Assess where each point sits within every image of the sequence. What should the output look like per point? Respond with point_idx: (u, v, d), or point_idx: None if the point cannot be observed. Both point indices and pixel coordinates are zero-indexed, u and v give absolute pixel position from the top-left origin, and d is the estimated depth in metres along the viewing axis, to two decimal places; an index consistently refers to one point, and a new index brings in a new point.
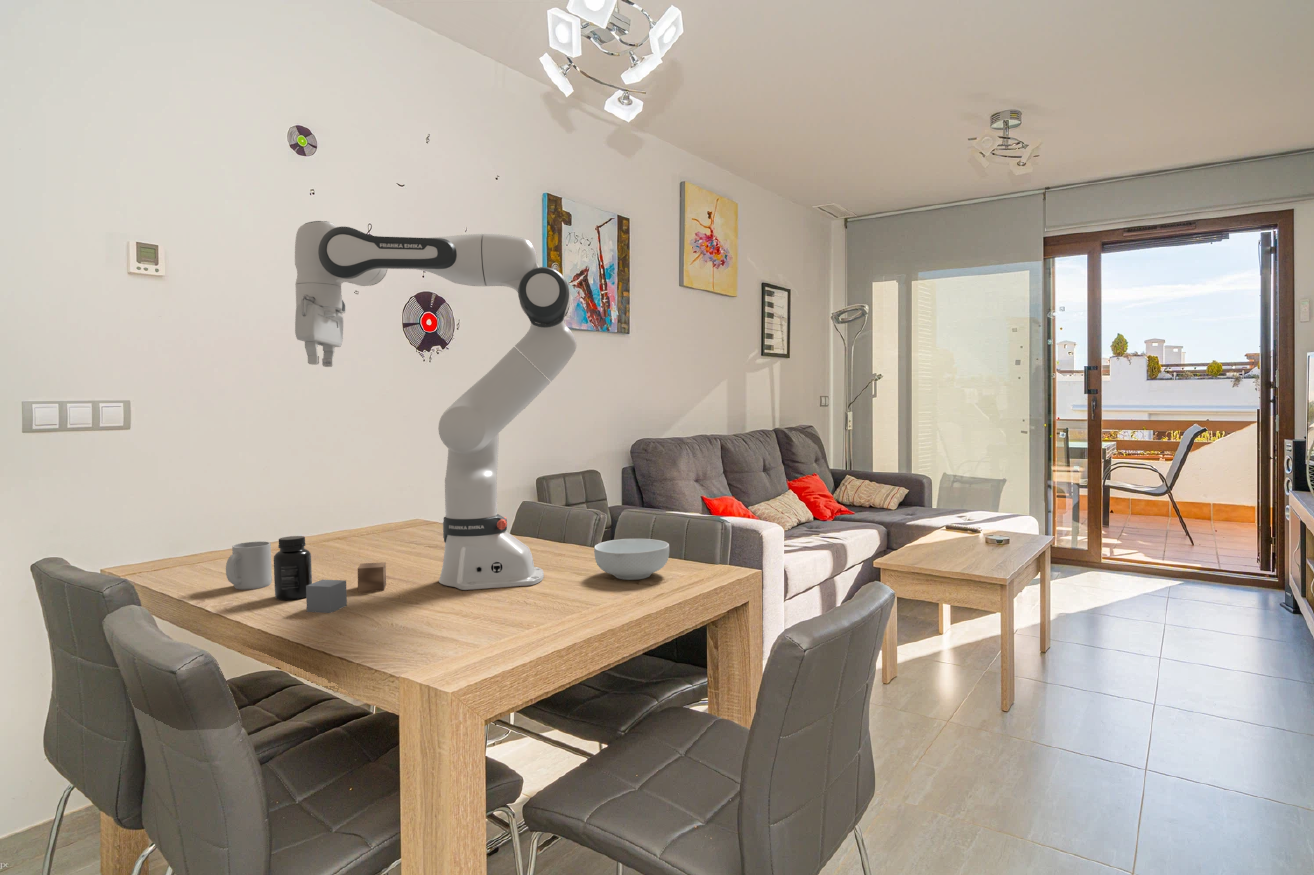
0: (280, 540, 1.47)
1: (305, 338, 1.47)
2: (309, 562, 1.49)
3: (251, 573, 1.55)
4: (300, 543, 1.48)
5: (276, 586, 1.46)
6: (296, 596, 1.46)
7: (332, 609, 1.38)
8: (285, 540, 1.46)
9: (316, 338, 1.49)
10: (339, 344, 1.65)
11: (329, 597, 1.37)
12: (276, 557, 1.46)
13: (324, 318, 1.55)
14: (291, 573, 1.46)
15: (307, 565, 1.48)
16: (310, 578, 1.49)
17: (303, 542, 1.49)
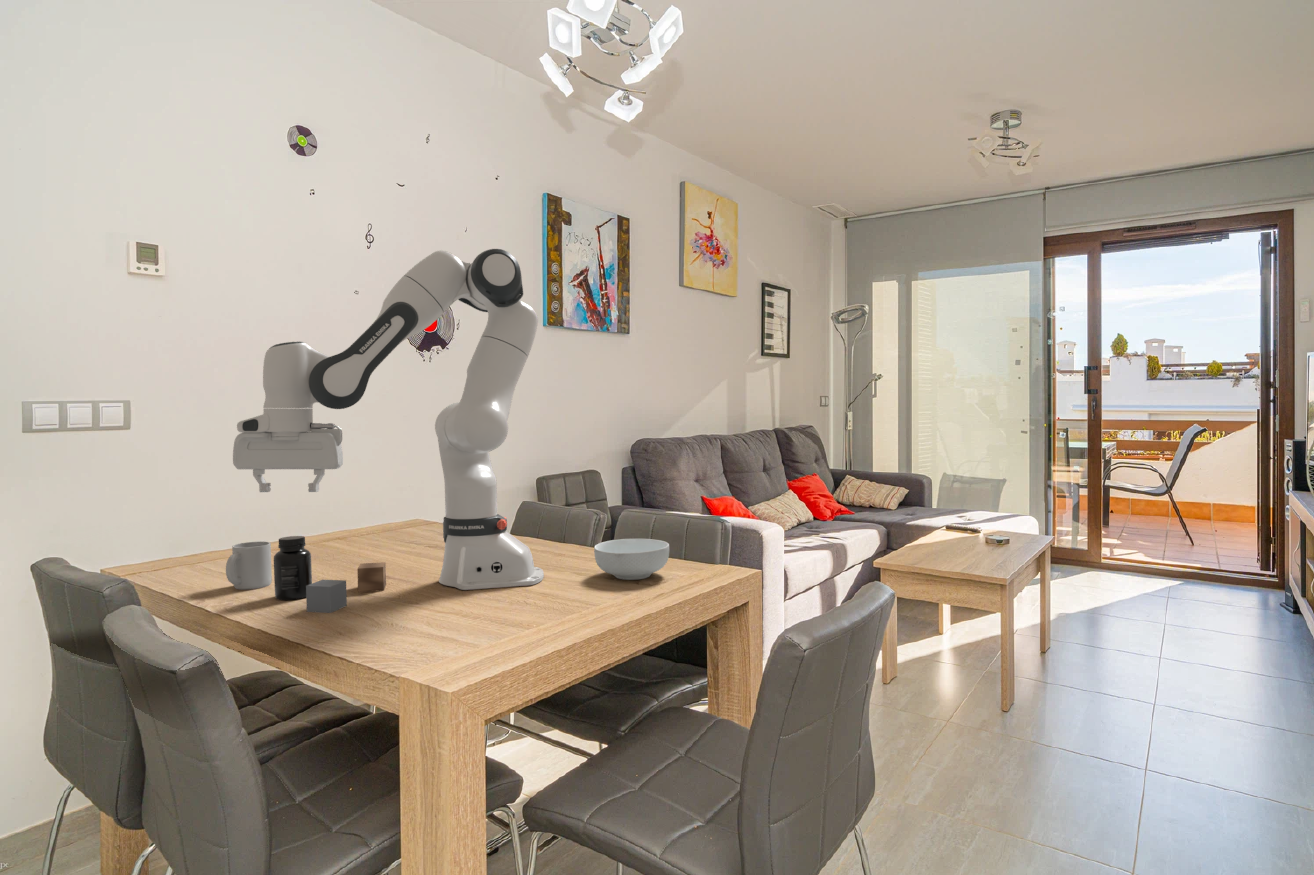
0: (280, 540, 1.47)
1: (338, 467, 1.49)
2: (309, 562, 1.49)
3: (251, 573, 1.55)
4: (300, 543, 1.48)
5: (276, 586, 1.46)
6: (296, 596, 1.46)
7: (332, 609, 1.38)
8: (285, 540, 1.46)
9: None
10: None
11: (329, 597, 1.37)
12: (276, 557, 1.46)
13: None
14: (291, 573, 1.46)
15: (307, 565, 1.48)
16: (310, 578, 1.49)
17: (303, 542, 1.49)
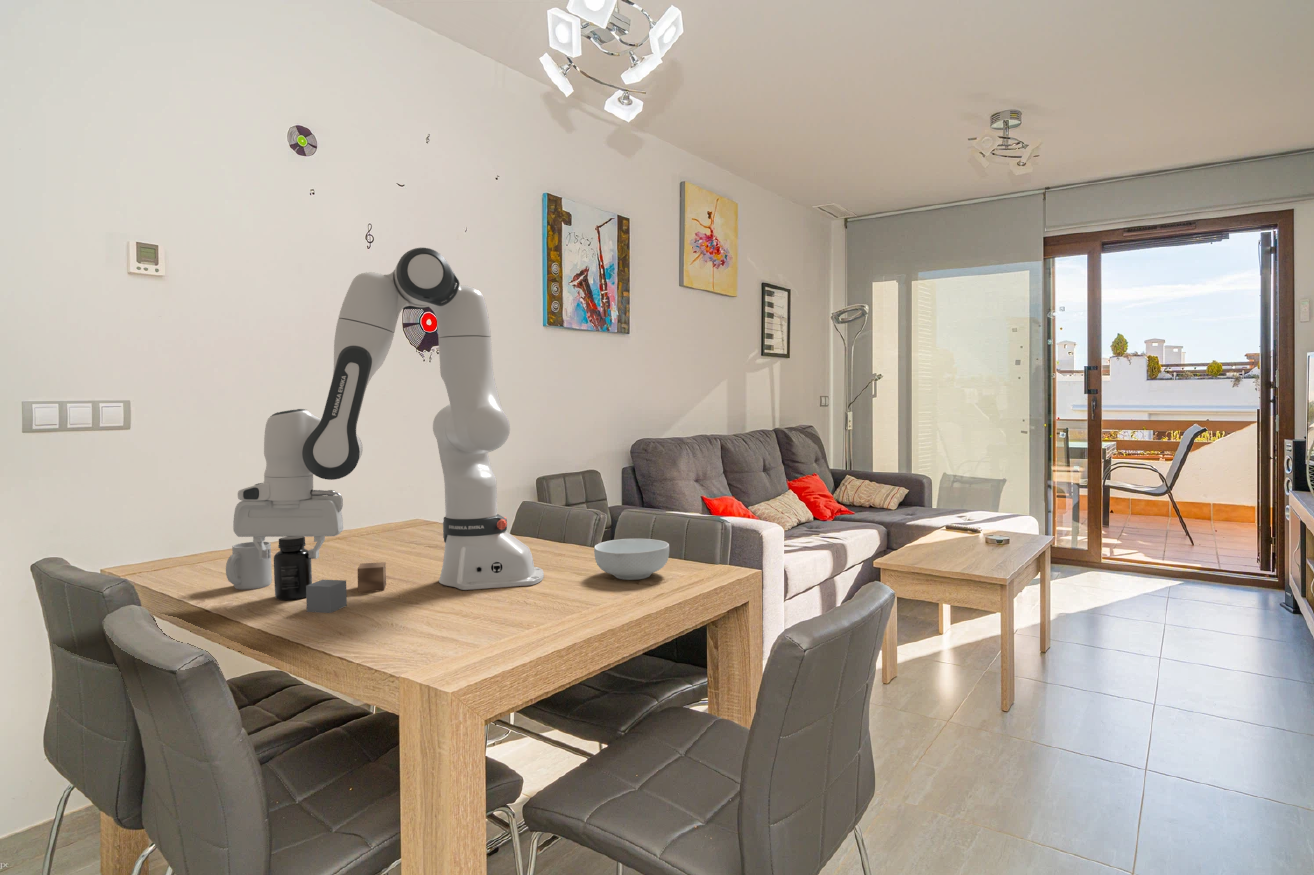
0: (280, 540, 1.47)
1: (338, 533, 1.49)
2: (309, 562, 1.49)
3: (251, 573, 1.55)
4: (300, 543, 1.48)
5: (276, 586, 1.46)
6: (296, 596, 1.46)
7: (332, 609, 1.38)
8: (285, 540, 1.46)
9: None
10: None
11: (329, 597, 1.37)
12: (276, 557, 1.46)
13: None
14: (291, 573, 1.46)
15: (307, 565, 1.48)
16: (310, 578, 1.49)
17: (303, 542, 1.49)
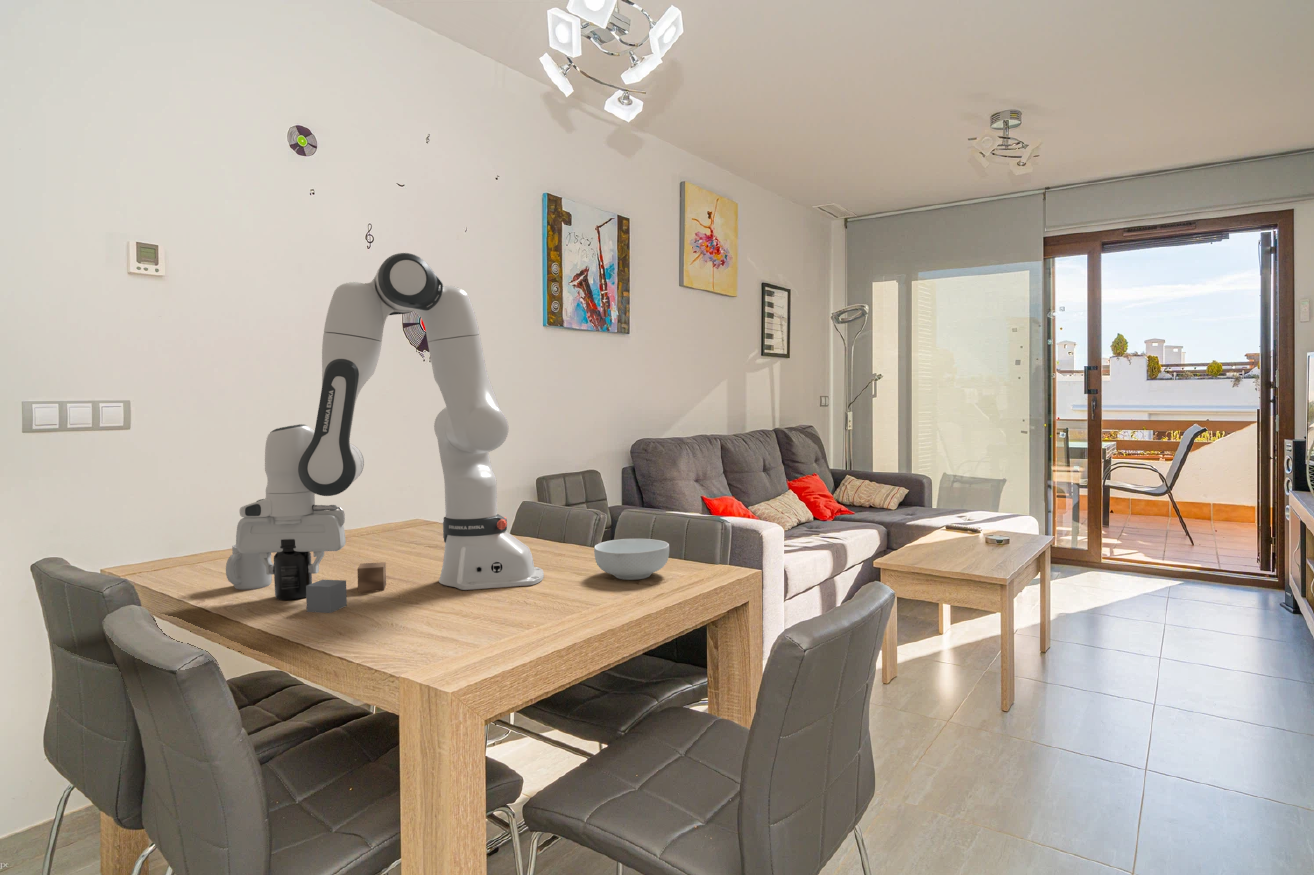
0: None
1: (341, 548, 1.50)
2: (309, 562, 1.49)
3: (251, 573, 1.55)
4: None
5: (276, 586, 1.46)
6: (296, 596, 1.46)
7: (332, 609, 1.38)
8: (285, 540, 1.46)
9: None
10: None
11: (329, 597, 1.37)
12: (276, 557, 1.46)
13: None
14: (291, 573, 1.46)
15: (307, 565, 1.48)
16: (310, 578, 1.49)
17: None
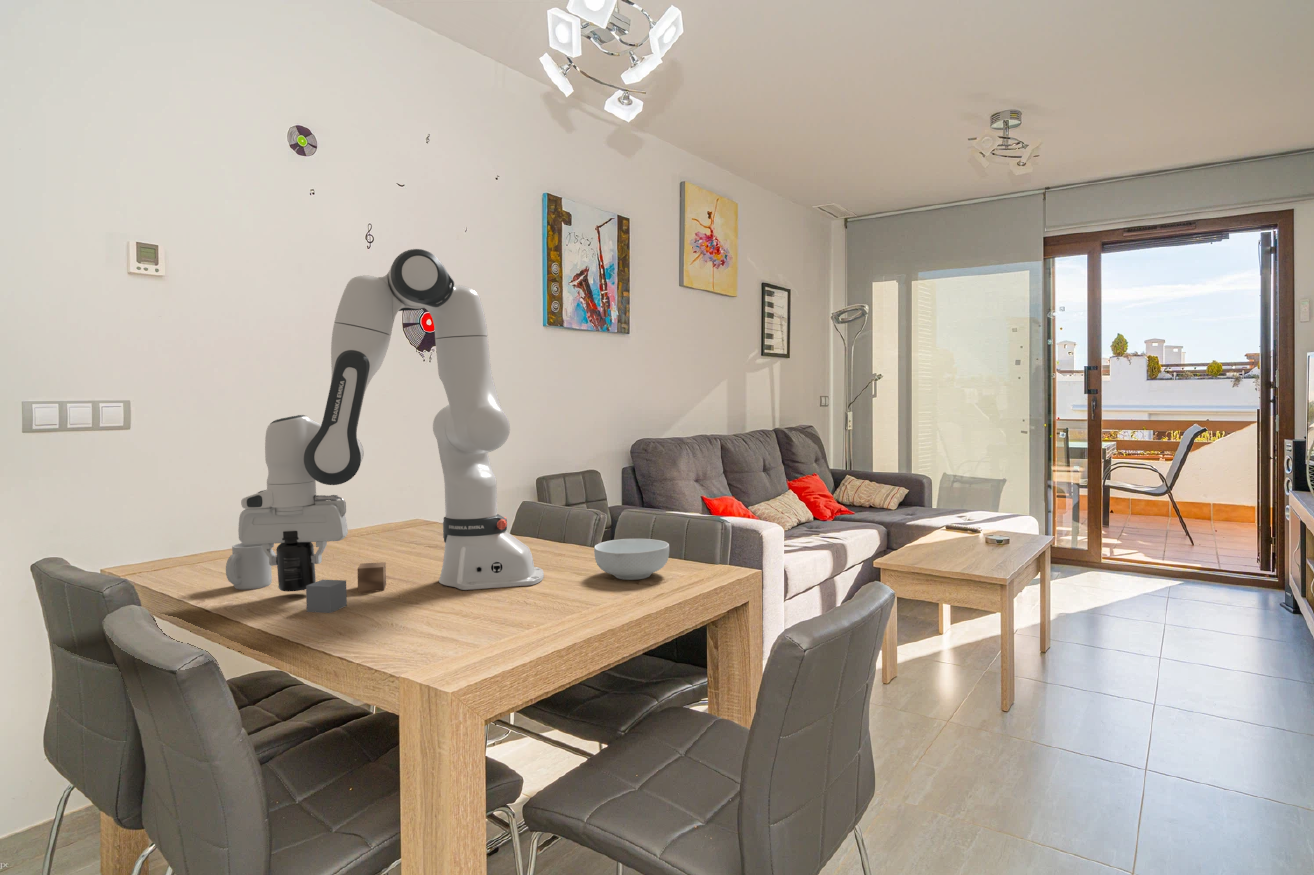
0: None
1: (343, 538, 1.50)
2: (312, 553, 1.49)
3: (251, 573, 1.55)
4: None
5: (279, 578, 1.47)
6: (300, 587, 1.47)
7: (332, 609, 1.38)
8: (287, 532, 1.47)
9: None
10: None
11: (329, 597, 1.37)
12: (278, 549, 1.46)
13: None
14: (294, 565, 1.46)
15: (310, 556, 1.48)
16: (313, 569, 1.50)
17: None
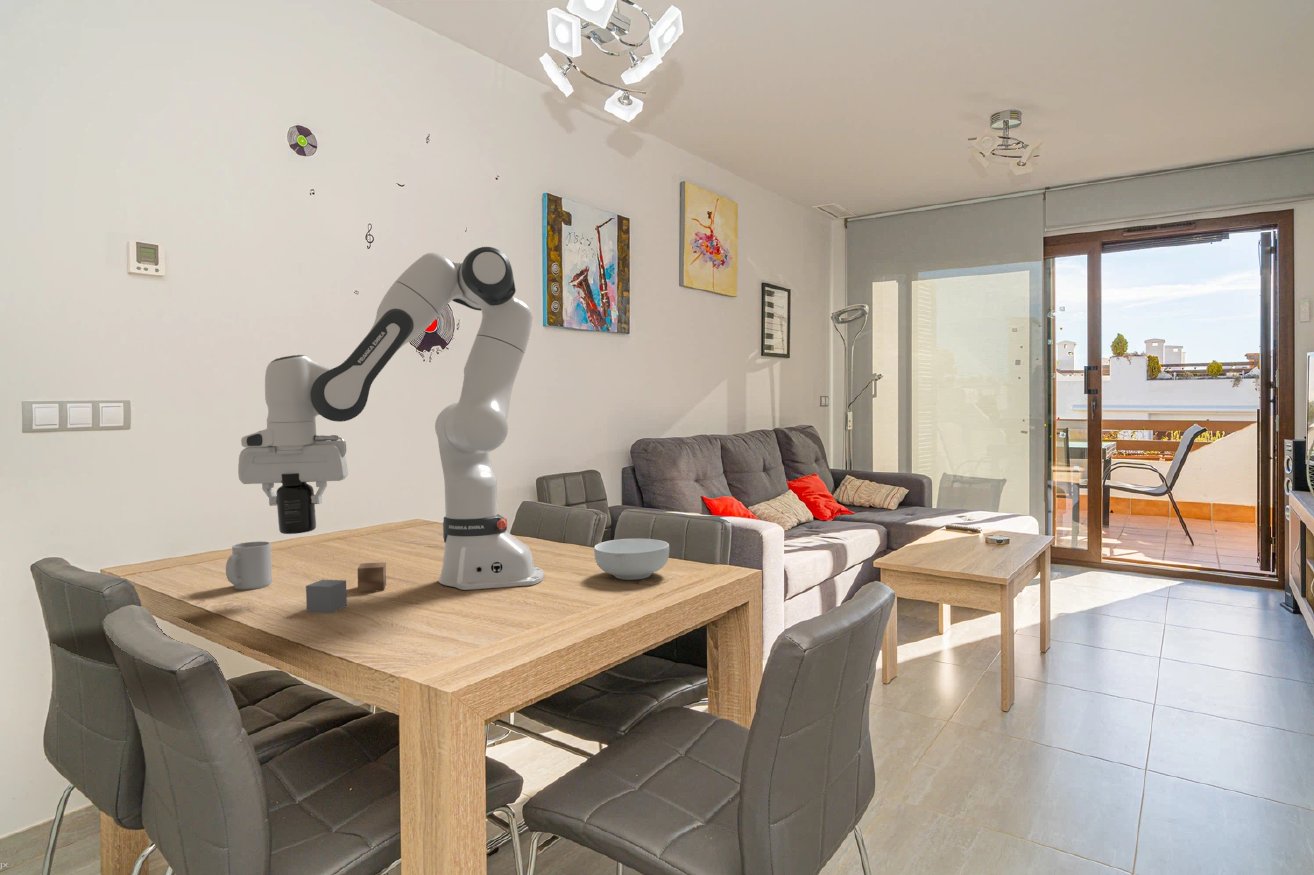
0: (282, 475, 1.47)
1: (343, 478, 1.50)
2: None
3: (251, 573, 1.55)
4: None
5: (280, 520, 1.47)
6: (300, 530, 1.47)
7: (332, 609, 1.38)
8: (287, 474, 1.46)
9: None
10: None
11: (329, 597, 1.37)
12: (278, 491, 1.46)
13: None
14: (295, 507, 1.46)
15: (310, 500, 1.48)
16: (313, 512, 1.50)
17: None
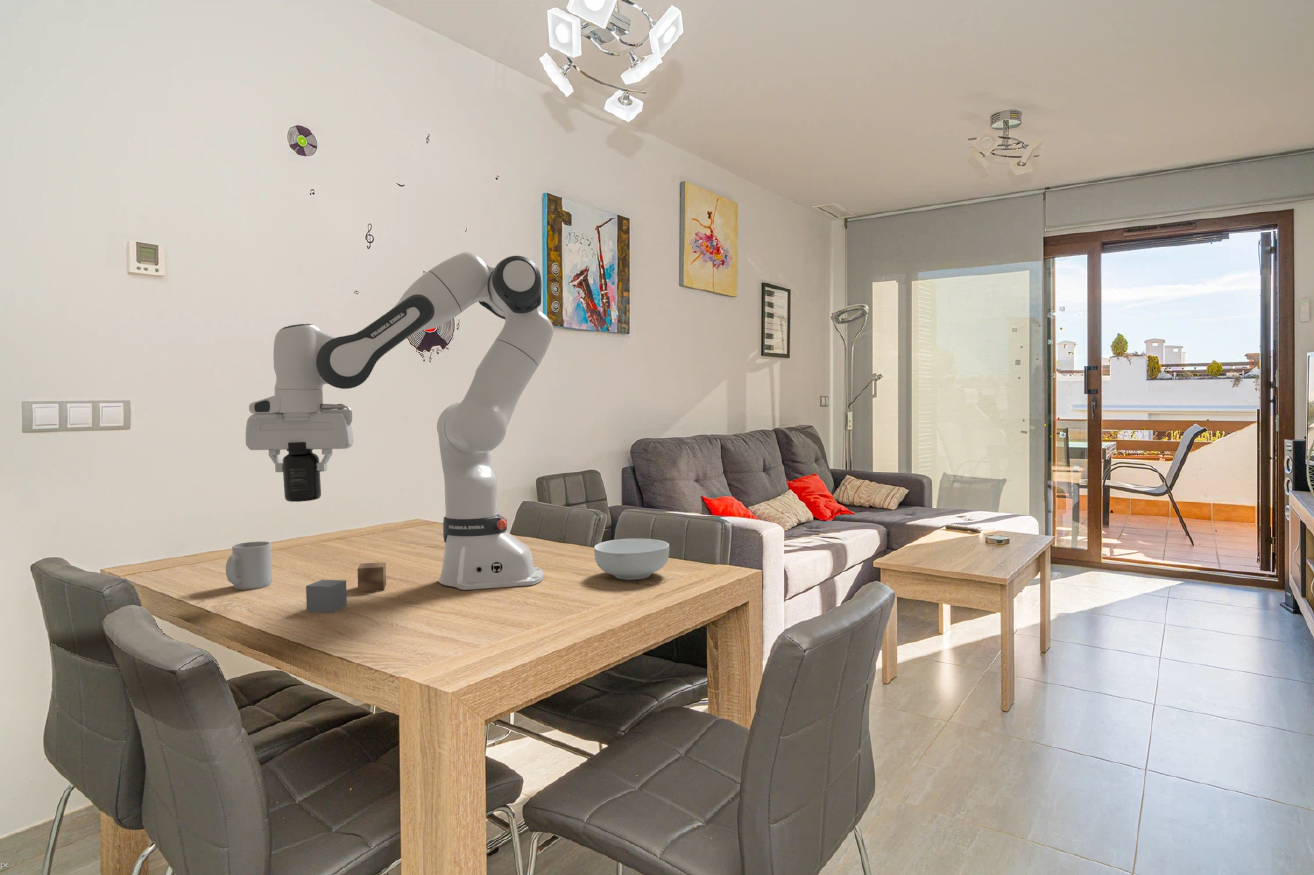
0: (288, 443, 1.49)
1: (349, 446, 1.52)
2: None
3: (251, 573, 1.55)
4: None
5: (286, 488, 1.49)
6: (306, 498, 1.49)
7: (332, 609, 1.38)
8: (293, 443, 1.48)
9: None
10: None
11: (329, 597, 1.37)
12: (284, 459, 1.48)
13: None
14: (300, 475, 1.48)
15: (315, 468, 1.50)
16: (319, 481, 1.52)
17: None
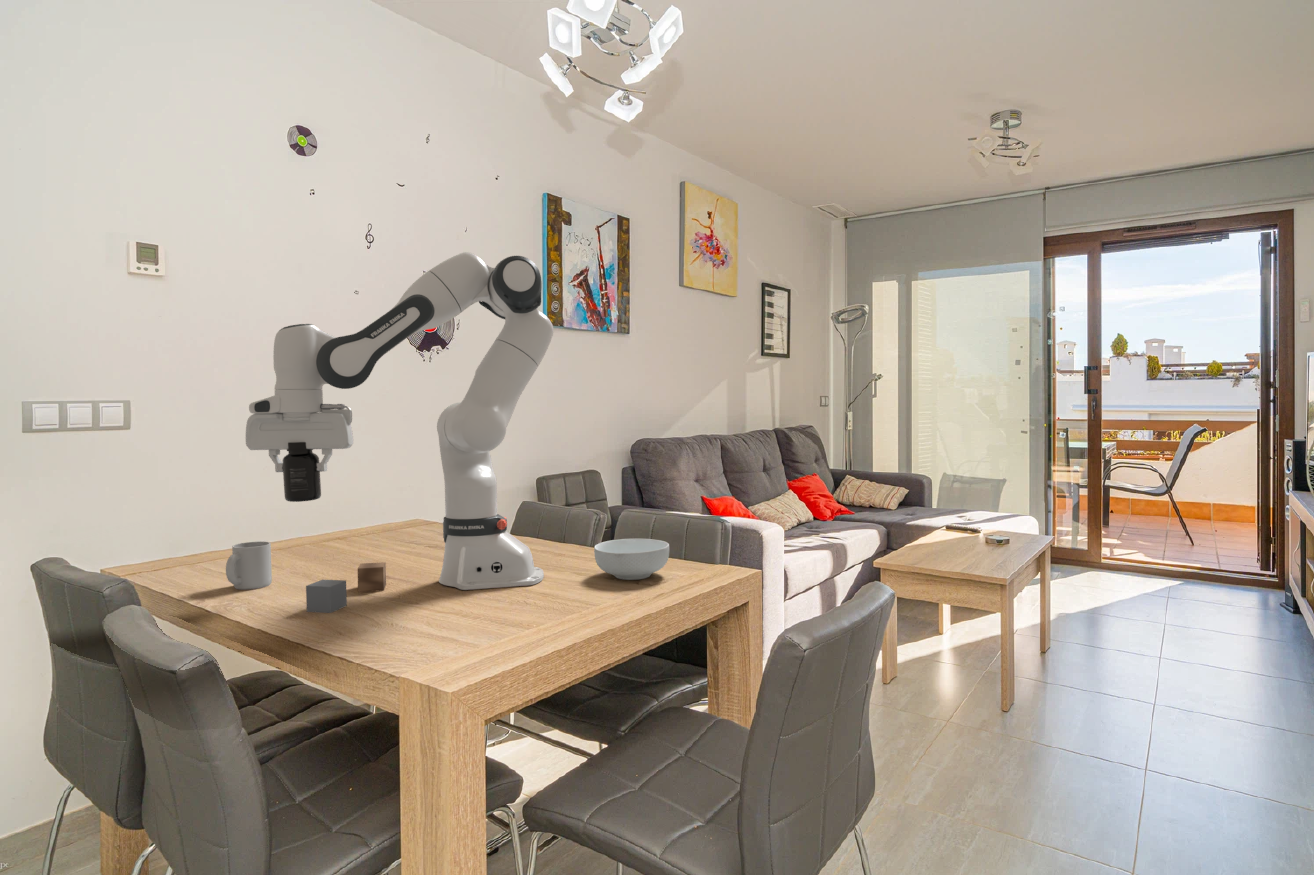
0: (288, 443, 1.49)
1: (349, 446, 1.52)
2: None
3: (251, 573, 1.55)
4: None
5: (286, 488, 1.49)
6: (306, 498, 1.49)
7: (332, 609, 1.38)
8: (293, 443, 1.48)
9: None
10: None
11: (329, 597, 1.37)
12: (284, 459, 1.48)
13: None
14: (300, 475, 1.48)
15: (315, 468, 1.50)
16: (319, 481, 1.52)
17: None
